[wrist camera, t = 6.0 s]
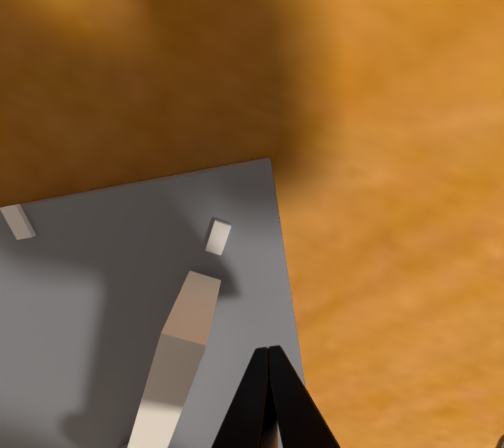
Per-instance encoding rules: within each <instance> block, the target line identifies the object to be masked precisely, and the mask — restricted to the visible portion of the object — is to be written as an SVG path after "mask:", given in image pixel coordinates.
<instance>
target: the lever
mask: <svg viewBox="0 0 504 448" xmlns="http://www.w3.org/2000/svg"><path fill="white" fill-rule="evenodd" d="M220 283H221V280H219V279H216V278H212V277H209V276H206V275H202V274H199V273H196V272H193V271H189V273H188V275H187V278H186V280H185V282H184V284H183V286H182V288H181V291H180V293H179V295H178V297H177V299H176V301H175V304H174V306H173V308H172V310H171V312H170V315H169V317H168V319H167V321H166V323H165V325H164V328H163V330H162V332H161V335H160V338H159V341H158V345H157V348H156V352H155V355H154V359H153V362H152V365H151V369H150V372H149V376H148V379H147V382H146V386H145V389H144V393H143V396H142V400H141V403H140V406H139V410H138V413H137V417H136V420H135V424H134V427H133V430H132V434H131V437H130V441H129V444H126V445H123V446H121V447H120V448H168V445H169V443H170V440H171V438H172V435H173V432H174V430H175V427H176V425H177V422H178V419H179V417H180V414H181V411H182V409H183V406H184V404H185V401H186V398H187V396H188V393H189V391H190V388H191V385H192V383H193V380H194V378H195V375H196V372H197V370H198V367H199V365H200V362H201V359H202V357H203V354H204V352H205V349H206V346H207V342H208V338H209V333H210V329H211V324H212V320H213V315H214V311H215V306H216V302H217V297H218V292H219V288H220Z"/></svg>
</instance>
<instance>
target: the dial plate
mask: <svg viewBox="0 0 504 448" xmlns="http://www.w3.org/2000/svg"><path fill="white" fill-rule="evenodd" d="M189 271H193V272H196V273H199V274H202V275H206V276H209V277H212V278H216V279H219V280H221V283H220V288H219V292H218V297H217V302H216V306H215V311H214V315H213V320H212V324H211V329H210V333H209V338H208V342H207V346H206V349H205V352H204V354H203V357H202V359H201V362H200V365H199V367H198V370H197V372H196V375H195V378H194V380H193V383H192V385H191V388H190V391H189V393H188V396H187V398H186V401H185V404H184V406H183V409H182V411H181V414H180V417H179V419H178V422H177V425H176V427H175V430H174V432H173V435H172V438H171V440H170V443H169V445H168V448H211V446H212V444H213V442H214V440H215V437H216V435H217V433H218V431H219V428H220V426H221V424H222V422H223V420H224V417H225V415H226V413H227V411H228V408H229V406H230V404H231V402H232V399H233V397H234V395H235V393H236V390H237V388H238V386H239V384H240V381H241V379H242V377H243V375H244V373H245V370H246V368H247V366H248V364H249V361H250V359H251V357H252V355H253V352H254V350H255V349H256V348H259V347H268V348H269V346H274V345H280V346H281V347H282V348H283V350H284V352H285V354H286V355H287V357H288V359H289V360H290V362H291V364H292V366H293V367H294V369H295V371H296V372H297V374H298V376H299V377H300V379H301V381H302V383H303V384H304V386H305V381H304V375H303V368H302V362H301V355H300V348H299V342H298V335H297V329H296V322H295V316H294V309H293V302H292V296H291V289H290V283H289V276H288V270H287V263H286V257H285V250H284V243H283V237H282V230H281V224H280V217H279V211H278V204H277V198H276V191H275V184H274V178H273V171H272V165H271V160H270V158H269V157H267V158H262V159H256V160H251V161H246V162H240V163H235V164H230V165H224V166H219V167H213V168H208V169H203V170H197V171H192V172H187V173H181V174H176V175H171V176H165V177H160V178H154V179H149V180H144V181H138V182H133V183H128V184H122V185H117V186H112V187H106V188H101V189H95V190H90V191H85V192H79V193H74V194H69V195H63V196H58V197H53V198H47V199H42V200H36V201H31V202H26V203H20V204H15V205H10V206H4V207H0V448H120V447H121V446H123V445H126V444H129V441H130V437H131V434H132V430H133V427H134V424H135V420H136V417H137V413H138V410H139V406H140V403H141V400H142V396H143V393H144V389H145V386H146V382H147V379H148V376H149V372H150V369H151V365H152V362H153V359H154V355H155V352H156V348H157V345H158V341H159V338H160V335H161V332H162V330H163V328H164V325H165V323H166V321H167V319H168V317H169V315H170V312H171V310H172V308H173V306H174V304H175V301H176V299H177V297H178V295H179V293H180V291H181V288H182V286H183V284H184V282H185V280H186V278H187V275H188V273H189ZM278 448H283V447H282V442H281V437H280V432H279V427H278Z"/></svg>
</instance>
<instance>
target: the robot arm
mask: <svg viewBox="0 0 504 448" xmlns="http://www.w3.org/2000/svg"><path fill="white" fill-rule="evenodd" d="M278 427H279V432H280V437H281V442H282V447H283V448H340V446H339V444H338V442H337V441H336V439H335V437H334V435H333V434H332V432H331V430H330V429H329V427H328V425H327V424H326V422H325V420H324V418H323V417H322V415H321V413H320V412H319V410H318V408H317V406H316V405H315V403H314V401H313V400H312V398H311V396H310V395H309V393H308V391H307V389H306V388H305V386H304V384H303V383H302V381H301V379H300V377H299V376H298V374H297V372H296V371H295V369H294V367H293V366H292V364H291V362H290V360H289V359H288V357H287V355H286V354H285V352H284V350H283V348H282V347H281V346H280V345H274V346H269V348H268V347H259V348H256V349H255V350H254V352H253V355H252V357H251V359H250V361H249V364H248V366H247V368H246V370H245V373H244V375H243V377H242V379H241V381H240V384H239V386H238V388H237V390H236V393H235V395H234V397H233V399H232V402H231V404H230V406H229V408H228V411H227V413H226V415H225V417H224V420H223V422H222V424H221V426H220V428H219V431H218V433H217V435H216V437H215V440H214V442H213V444H212V446H211V448H278Z"/></svg>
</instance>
